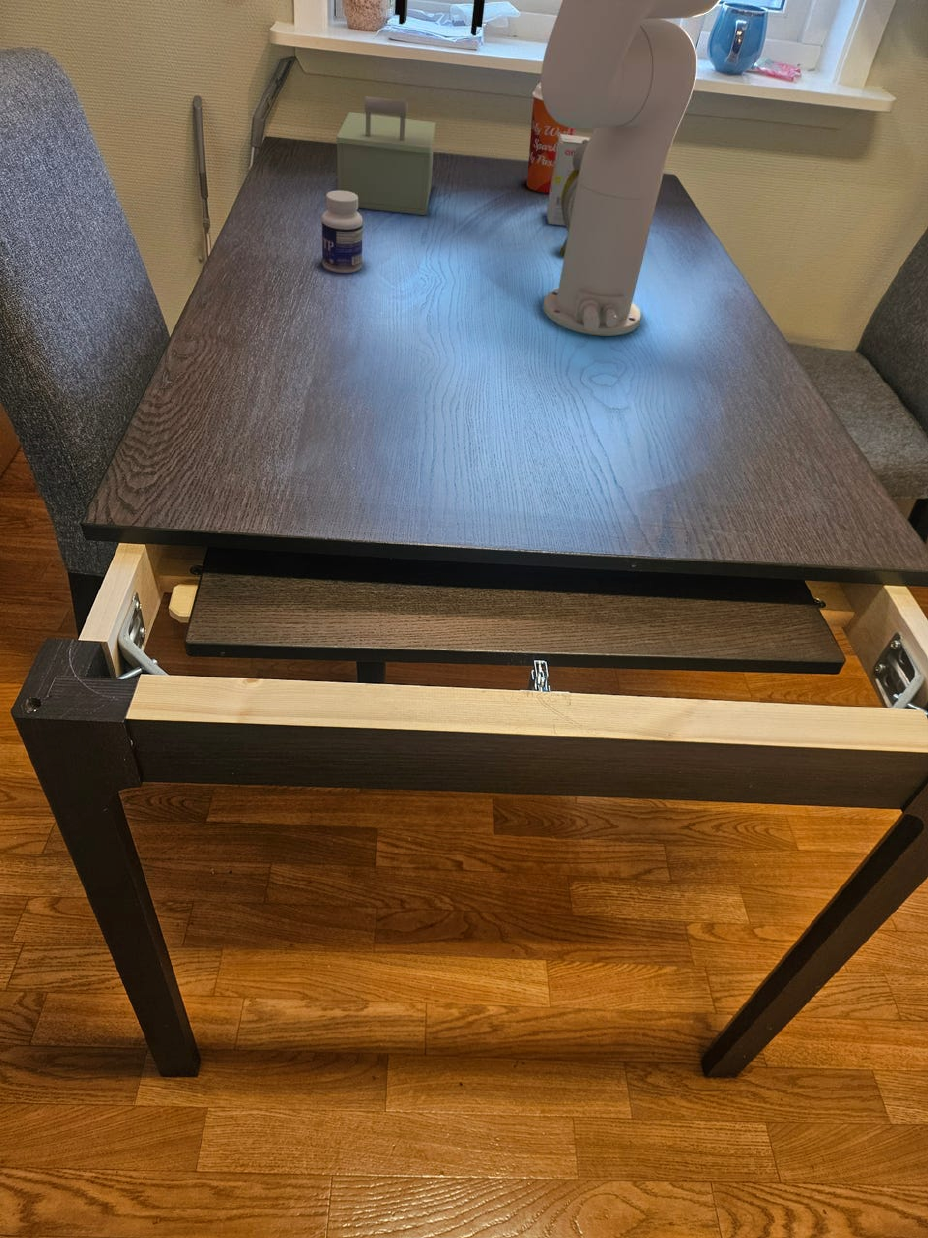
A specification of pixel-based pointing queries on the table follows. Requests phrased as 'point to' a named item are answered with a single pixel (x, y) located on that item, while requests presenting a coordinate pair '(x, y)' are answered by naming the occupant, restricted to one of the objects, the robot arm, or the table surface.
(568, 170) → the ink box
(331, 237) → the pill bottle
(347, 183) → the bin
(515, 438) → the table surface
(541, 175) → the coffee cup
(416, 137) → the bin lid
